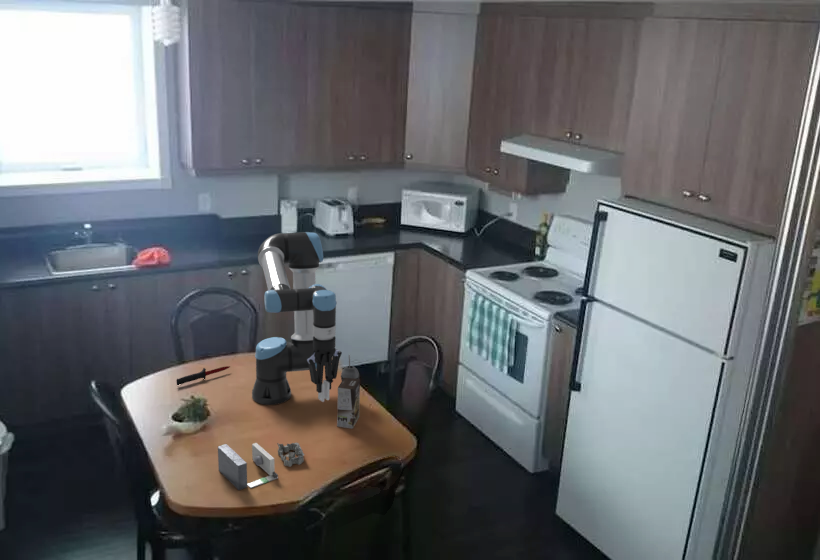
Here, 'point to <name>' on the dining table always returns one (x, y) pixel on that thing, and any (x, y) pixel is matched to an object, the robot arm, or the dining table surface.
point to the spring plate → (263, 459)
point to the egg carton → (291, 454)
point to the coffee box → (348, 402)
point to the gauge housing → (237, 469)
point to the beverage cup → (350, 372)
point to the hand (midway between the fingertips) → (323, 399)
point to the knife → (199, 375)
